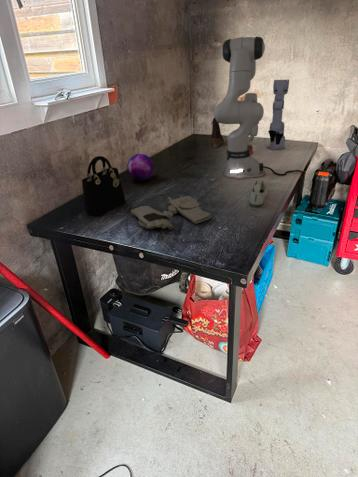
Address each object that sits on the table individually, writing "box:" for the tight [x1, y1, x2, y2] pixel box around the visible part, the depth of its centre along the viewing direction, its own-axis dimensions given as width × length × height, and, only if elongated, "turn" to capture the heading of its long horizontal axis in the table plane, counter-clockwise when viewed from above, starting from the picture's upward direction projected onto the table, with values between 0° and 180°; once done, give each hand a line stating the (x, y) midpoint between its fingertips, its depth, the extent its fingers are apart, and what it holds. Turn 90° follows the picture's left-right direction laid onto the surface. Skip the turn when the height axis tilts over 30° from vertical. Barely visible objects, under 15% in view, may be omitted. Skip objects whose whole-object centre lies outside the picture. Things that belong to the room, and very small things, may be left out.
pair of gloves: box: [130, 195, 212, 230], centre depth 145 cm, size 30×26×5 cm
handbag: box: [81, 155, 126, 217], centre depth 153 cm, size 21×9×25 cm, turn 148°
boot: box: [210, 116, 225, 149], centre depth 246 cm, size 9×24×20 cm, turn 168°
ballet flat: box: [249, 179, 269, 207], centre depth 158 cm, size 8×24×8 cm, turn 163°
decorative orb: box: [126, 153, 155, 182], centre depth 186 cm, size 15×15×15 cm
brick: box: [247, 144, 254, 152], centre depth 227 cm, size 5×4×4 cm
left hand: (248, 140), depth 224 cm, fingers open, 8 cm apart
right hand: (274, 142), depth 213 cm, fingers open, 7 cm apart
